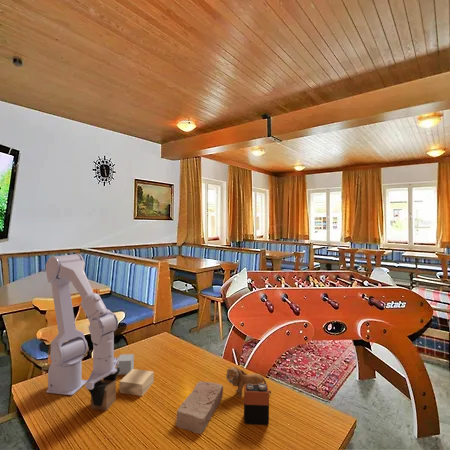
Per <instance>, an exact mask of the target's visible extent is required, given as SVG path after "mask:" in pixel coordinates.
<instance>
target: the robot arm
mask: <svg viewBox="0 0 450 450" xmlns="http://www.w3.org/2000/svg"><path fill="white" fill-rule="evenodd" d="M85 267H86V261H85V260H84V258H83V256H82V254H80V253H75V254H64V255H57V256H54V255H53V256H49V257H48V259H47V261H46V263H45V273H46V279H47V282H48V283H50V287H51V292H52V299H53V305H54V312H55V319H56V325H57V332H58V333H57V335H56V336H55V337H54V338H53V339H52V340H51V342H50V352H49V357H50V361H51V363H50V365H49V367H48V371H47V390H46V393H47V394H58V395H65V396H67V395H68V396H73V395H74V394H76V392H78V391H79V390H80V389H81V388H83V386H84V385H85V390H87V391H88V392H89V395H90V397H91V396H92V399H93V402H94V405H95V406H101V405H102V403H103V394H104V390H105V387H106V385H107V383H102V381H101V380H111V381H116V380H117V378H118V373H119V371H120V368H117V365H118V364H119V357H115V356H114V355H115V354H114V353H115V348H114V347H115V341H114V340H115V339H114V338H115V334H114V333H115V331H116V330H118V326H119V321H118V317H117V315H116V313H114V312H112V311H111V310H110V309H107V307H106V305H105V303H104V301H103V299H102V298H101V296H100V294H99V293H96V292H94V290H93V287H92V285H91V284H90V281H89V279H88V277H87V275H86V273H85V269H86V268H85ZM70 282H71V284H72V286H73V287H74V288H75V290H76V291H77V293H78V295H79V296H80V297H81V302H80V306H81V308H82V310H83V312H84V314H85V316H86V317H87V319H88V321H89V325H88V331H89V334H90V339H91V342H92V346H93V348H92V349H93V351H92V353H93V354H92V355H93V357H92V359H93V361H92V362H93V364H92V366H93V367H92V371H91V372H90V373H91V374H90V375H89V377H88V379H82V377H83V376H82V373H83V371H82V368H83V367H82V361H83V360H82V359H84V355H86V353H87V351H88V341H87V339H86V338H85V334H84V332H83V331H81V330H79V329H77V327H76V319H75V314H74V306H73V302H72V301H73V299H72V295H71V290H70V289H71V288H70ZM116 382H117V381H116Z"/></svg>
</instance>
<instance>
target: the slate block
mask: <svg viewBox="0 0 450 450" xmlns="http://www.w3.org/2000/svg"><path fill="white" fill-rule="evenodd" d="M118 358H119V364H118V365H116V368H120V371H119V373H118V375H119V376H120V375H121V376H122V375H127V374H128V373H129V372H130V371H131V370H132V369H135V368H134V367H135V365H134V364H135V354H134V353H130V354H129V353H128V354H126V353H124V354H119V356H118ZM118 375H117V376H118Z"/></svg>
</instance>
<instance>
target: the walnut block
mask: <svg viewBox="0 0 450 450" xmlns="http://www.w3.org/2000/svg"><path fill="white" fill-rule="evenodd" d="M101 381H102V383H107V385H106V387H105V390H104V394H103V403H102V405H101V406H95V405H94V402H93V399H92V396H91V395H90V409H91V410H97V411H104V412H106V411H108V410H109V408H111V406H112V405H113V404H114V403H115V402H116V399H117V397H116V396H117V394H116V392H117V391H116V390H117V389H116V388H117V387H116V386H117V384H116V383H117V381H111V380H103V379H101Z"/></svg>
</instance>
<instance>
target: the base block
mask: <svg viewBox="0 0 450 450" xmlns="http://www.w3.org/2000/svg"><path fill="white" fill-rule="evenodd" d="M154 375H155V372H154V371H151V370H144V369H137V368H133V369H132V370H131V371H130V372H129V373H128V374H125V376H124V377H122V379H120V380H119V393H121V394H125V395H130V396H131V395H132V396H138V397H139V396H140V397H143V396H144V395H145V394H146V392H148V390H149V389H150V387H151V386H152V385H153V384H154V381H155V378H154V377H155V376H154Z"/></svg>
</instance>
